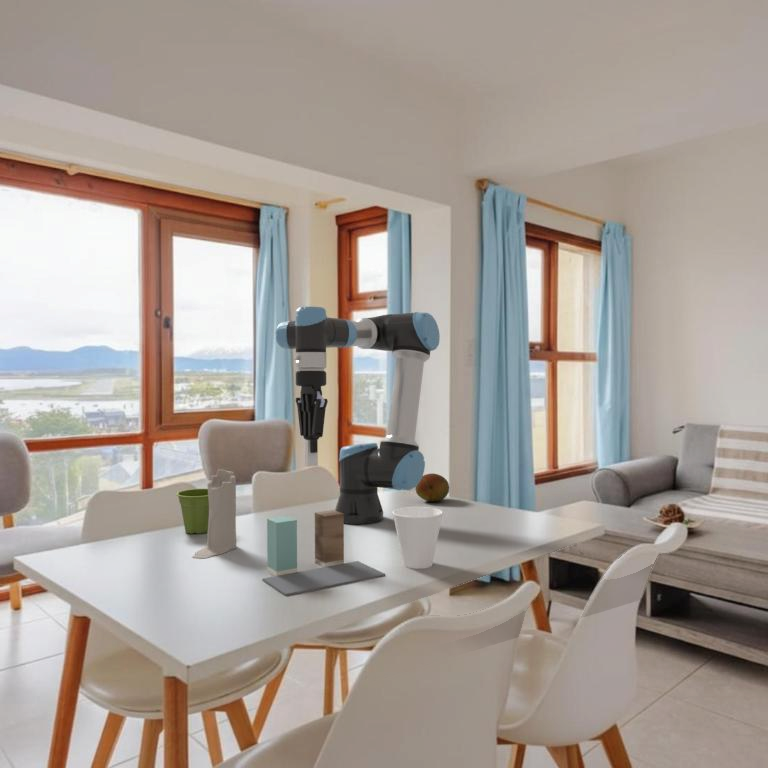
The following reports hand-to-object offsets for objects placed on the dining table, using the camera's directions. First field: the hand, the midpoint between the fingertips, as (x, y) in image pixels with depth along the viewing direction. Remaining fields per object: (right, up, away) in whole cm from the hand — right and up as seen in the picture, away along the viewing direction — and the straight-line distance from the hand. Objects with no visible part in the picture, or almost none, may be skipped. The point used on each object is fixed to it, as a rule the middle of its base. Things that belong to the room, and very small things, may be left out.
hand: (311, 465), depth 161 cm
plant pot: (-35, -22, +25) cm, 49 cm away
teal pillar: (-5, -22, -14) cm, 27 cm away
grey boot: (-25, -22, +4) cm, 34 cm away
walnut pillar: (+5, -22, -7) cm, 24 cm away
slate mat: (+5, -22, -18) cm, 29 cm away
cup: (+26, -22, -8) cm, 35 cm away
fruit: (+35, -21, +68) cm, 79 cm away
